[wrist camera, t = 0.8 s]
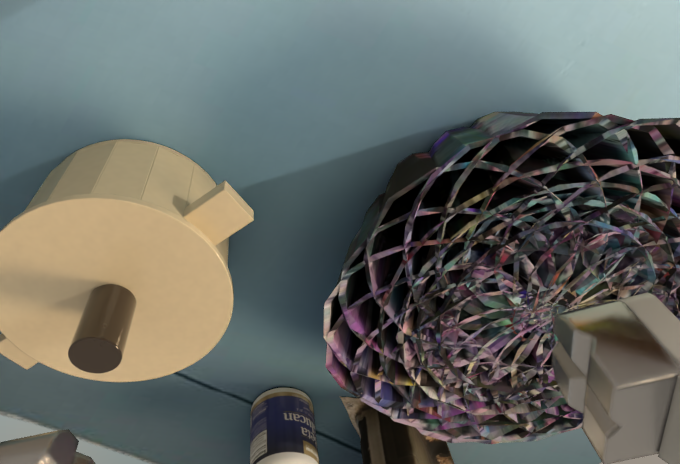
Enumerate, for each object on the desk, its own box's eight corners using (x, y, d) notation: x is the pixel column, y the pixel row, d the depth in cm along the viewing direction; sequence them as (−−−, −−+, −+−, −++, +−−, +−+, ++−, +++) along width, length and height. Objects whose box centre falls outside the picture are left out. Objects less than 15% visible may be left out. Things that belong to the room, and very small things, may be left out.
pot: (-30, 230, 34) (-93, 309, 28) (176, 74, 31) (157, 125, 25) (110, 333, 40) (84, 416, 34) (296, 212, 37) (305, 281, 31)
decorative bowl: (509, -33, 32) (590, -12, 23) (740, 218, 42) (855, 297, 33) (253, 260, 41) (242, 353, 32) (495, 408, 51) (536, 508, 42)
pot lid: (-68, 275, 28) (-125, 346, 24) (115, 138, 25) (87, 192, 21) (118, 397, 34) (100, 470, 30) (278, 299, 32) (282, 364, 28)
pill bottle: (324, 395, 47) (339, 502, 39) (293, 432, 49) (301, 541, 41) (269, 377, 45) (273, 487, 37) (239, 416, 47) (236, 528, 39)
